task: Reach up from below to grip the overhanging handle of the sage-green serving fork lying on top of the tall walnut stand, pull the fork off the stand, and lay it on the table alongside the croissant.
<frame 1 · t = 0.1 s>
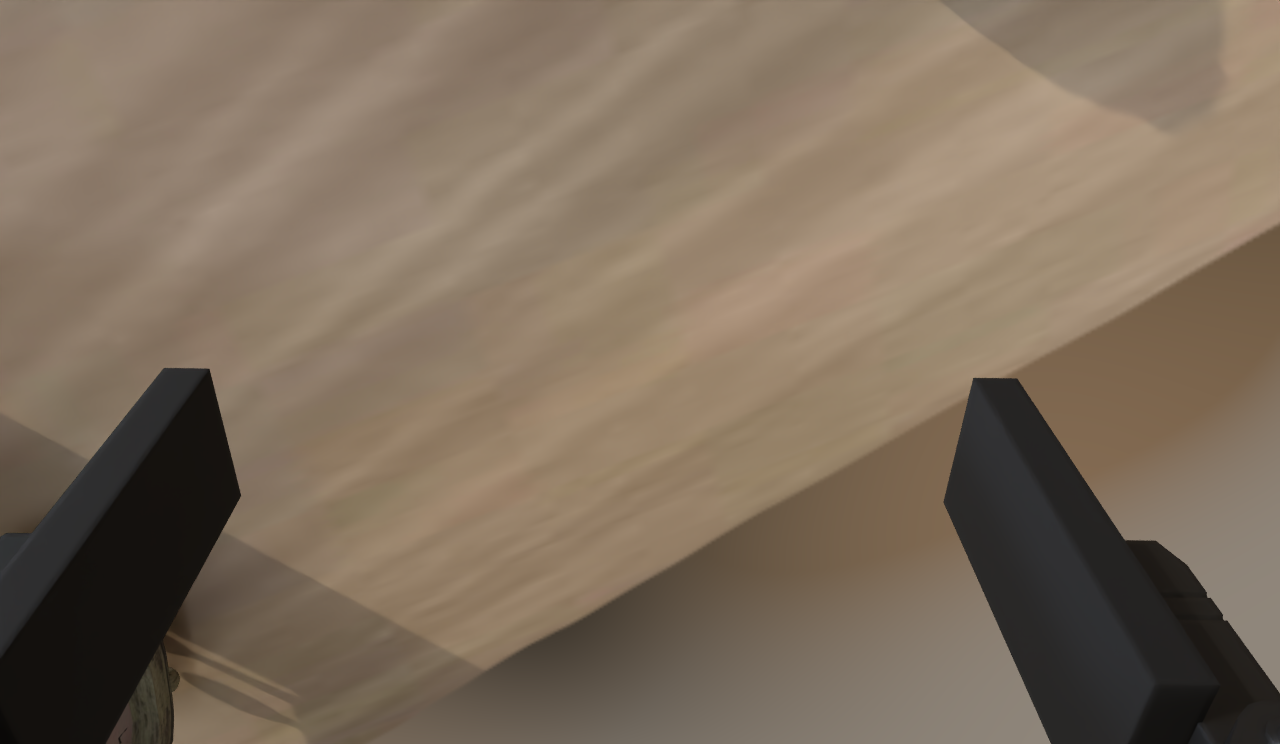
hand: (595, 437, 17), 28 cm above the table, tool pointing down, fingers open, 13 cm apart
tabletop clock: (113, 601, 57), on the table
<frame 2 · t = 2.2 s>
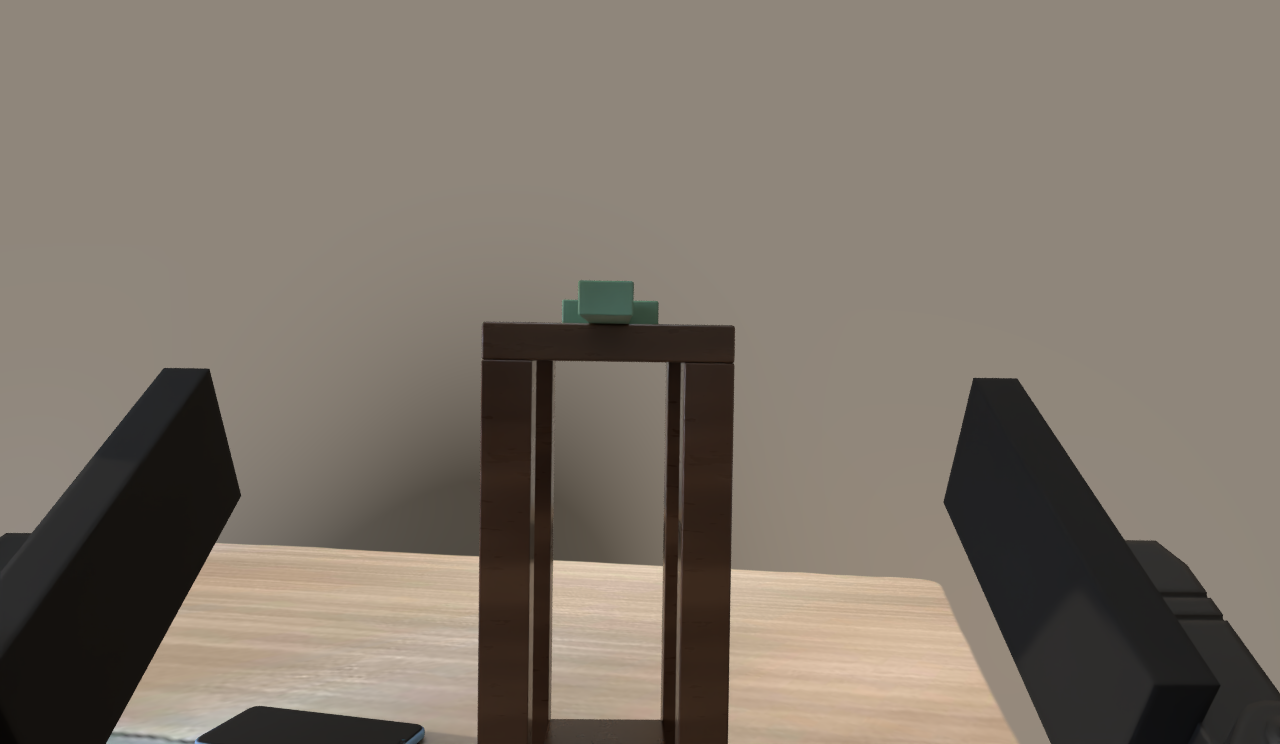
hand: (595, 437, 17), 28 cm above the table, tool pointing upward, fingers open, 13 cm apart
fork: (609, 324, 39), point 30 cm above the table, touching plant stand
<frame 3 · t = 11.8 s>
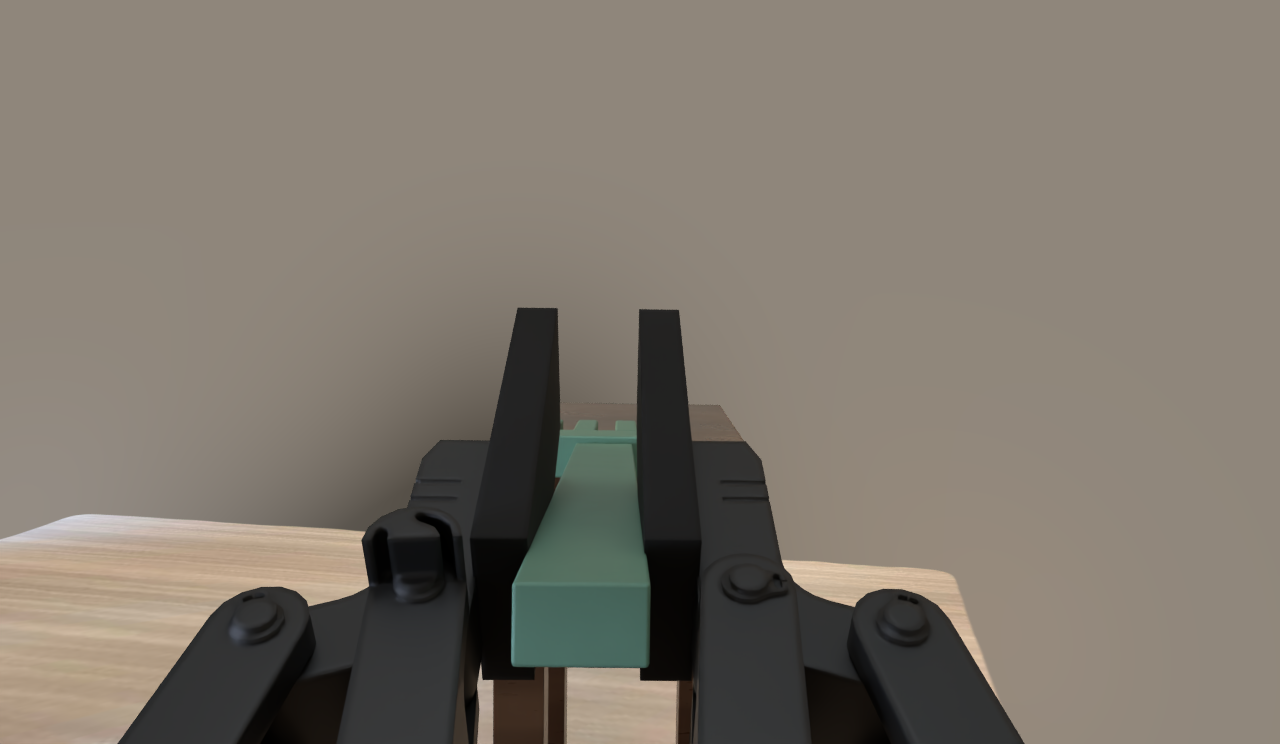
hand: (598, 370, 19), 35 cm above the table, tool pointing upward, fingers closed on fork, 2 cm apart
fork: (599, 508, 22), point 31 cm above the table, touching gripper
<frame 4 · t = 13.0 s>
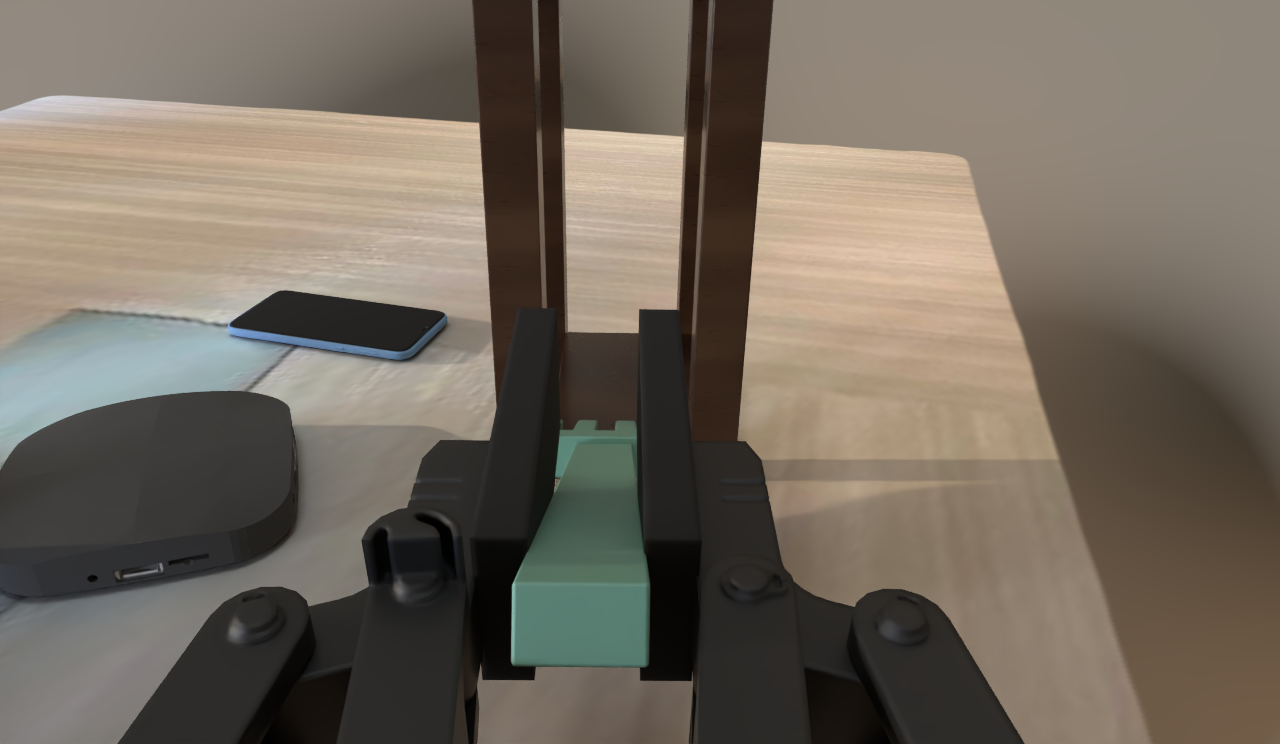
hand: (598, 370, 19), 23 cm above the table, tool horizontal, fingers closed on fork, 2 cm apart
fork: (599, 508, 22), point 19 cm above the table, tilted 27°, touching gripper
media streaming box: (160, 504, 53), on the table
smartphone: (339, 330, 72), on the table
plant stand: (618, 533, 51), on the table
when the fingers open (10 cm above the table, at t = 17.0 s): fork drops 5 cm, on the table.
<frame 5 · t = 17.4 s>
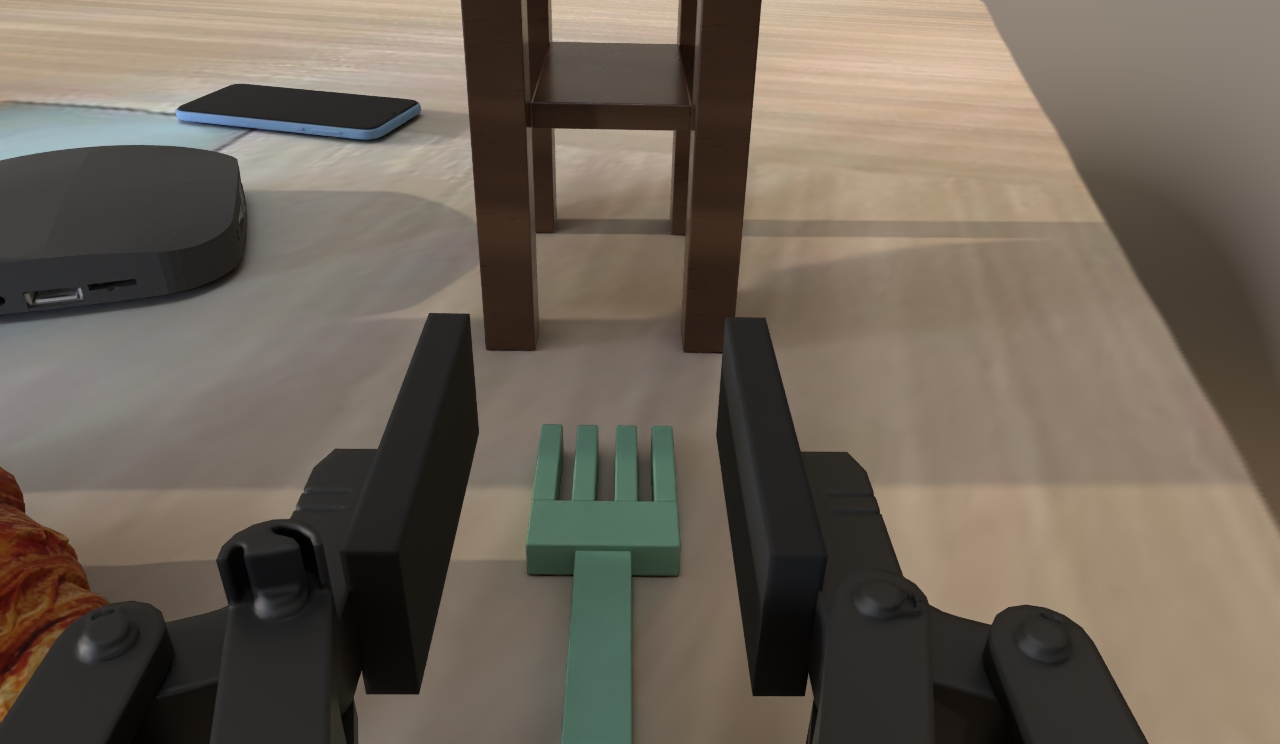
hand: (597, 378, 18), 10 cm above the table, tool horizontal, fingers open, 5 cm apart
fork: (598, 719, 23), on the table
media streaming box: (87, 252, 46), on the table
smartphone: (301, 118, 65), on the table
plant stand: (611, 276, 45), on the table
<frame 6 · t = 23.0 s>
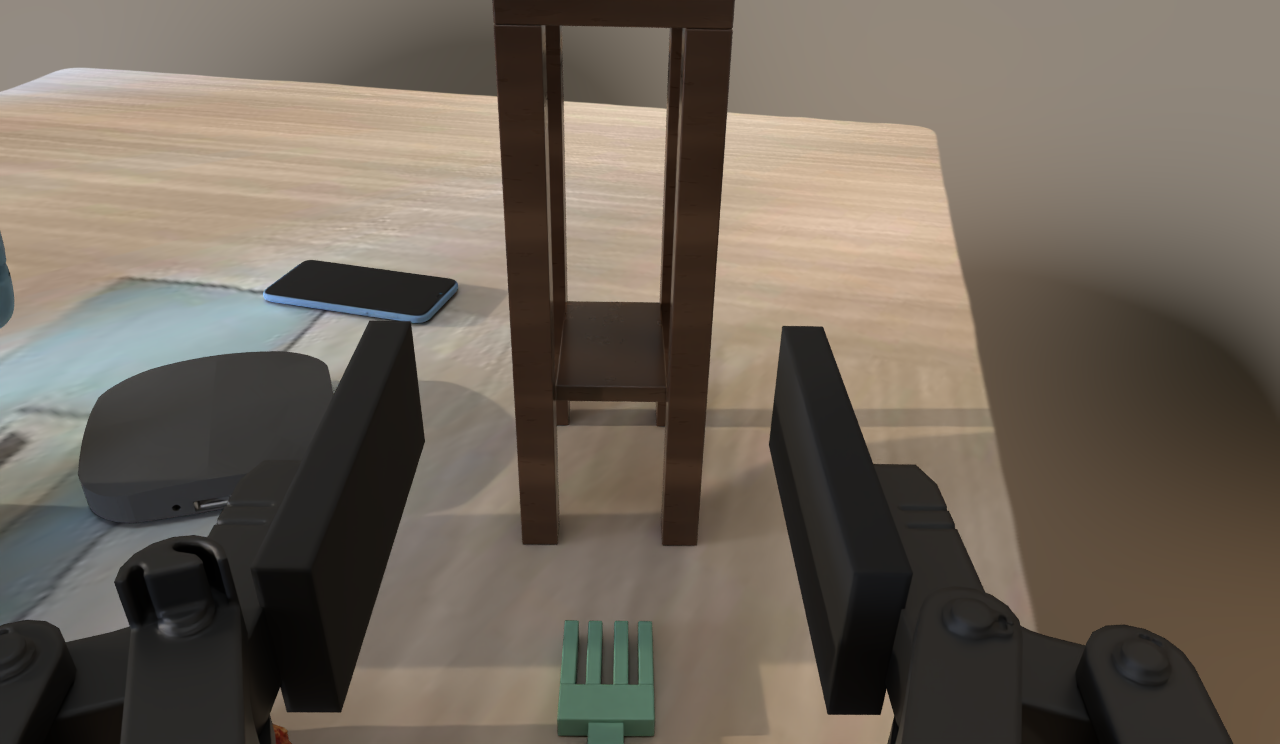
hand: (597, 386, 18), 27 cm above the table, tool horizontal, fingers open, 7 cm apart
media streaming box: (222, 448, 62), on the table
smartphone: (362, 296, 80), on the table
plant stand: (611, 470, 61), on the table
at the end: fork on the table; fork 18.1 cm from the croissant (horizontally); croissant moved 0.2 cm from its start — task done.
